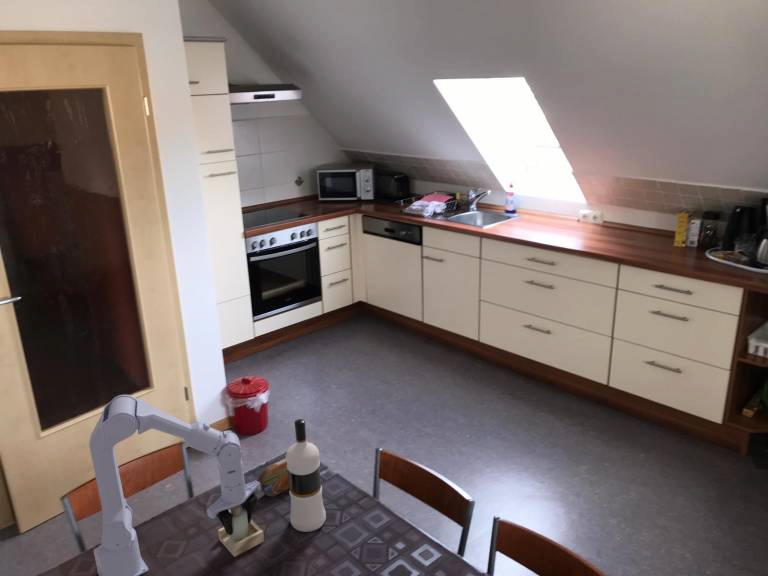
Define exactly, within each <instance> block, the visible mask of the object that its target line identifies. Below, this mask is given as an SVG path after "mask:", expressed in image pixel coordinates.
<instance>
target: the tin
mask: <svg viewBox="0 0 768 576" xmlns="http://www.w3.org/2000/svg"><path fill="white" fill-rule="evenodd" d="M258 482H259V483H260V485H261V490H260V491H261V492H262V493H263V494H264V495H265V496H268V497H275V496H277V495H279V494H281V493H283V492H285V491H288V489H289V490H290V485H289V475H288V469H287V461H286V457H285V458H283V459H281V460H279V461H277V462H274V463H273V464H270V465H268V466H266V467H265V468H264V469H263V470H262V471H261V472H260V474H259V476H258Z"/></svg>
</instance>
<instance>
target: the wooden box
mask: <svg viewBox="0 0 768 576" xmlns="http://www.w3.org/2000/svg"><path fill="white" fill-rule="evenodd" d="M248 525H249V534H248V536H247V537H245V538H244V539H241V540H232V539H231V538H230V537H229V534H228V533H226V531H225V529H224V526H223V527H220V528H219V529H218V530H217V532H218V538H219V539H218V540H219V541H220V542H221V543H222V544H223V546H224V547H225V548H226V549H227V550H228V552H230V555H232V556H233V557H234V558H235V557H237V556H239V555H241V554H243V553H246V552H247V551H248V550H250V549H253V548H254V547H256V546H258V545H260V544H262V543H263V542H265V538H264V537H265V535H264V531H263V529H262V528H260V527H259V525H257V523H256V522H254V520H253V519H251V522H250V523H248Z"/></svg>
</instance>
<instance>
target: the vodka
mask: <svg viewBox="0 0 768 576" xmlns="http://www.w3.org/2000/svg"><path fill="white" fill-rule="evenodd" d="M294 431H295V432H294V433H295V440H296V441H295V443H294V444H292V445H290V447H289V448H288V449H287V452H286V454H285V458H286V461H287V469H288V475H289V485H290V488H289V491H288V492H289V495H290V514H289V515H290V516H289V518H290V524H291V526H292V527H293V528H294V529H295V530H296V531H299V532H303V533H304V532H305V533H307V532H309V533H310V532H314V531H316V530H318V529H320V528H321V527H323V525H324V524H325V521H326V519H327V512H326V509H325V506H324V500H323V486H322V483H321V481H322V480H321V470H320V464H321V461H320V451H319V448H318V447H317V446H316V445H315V444H314V443H312V442H310V441H309V442H308V440H307V432H306V431H307V430H306V420H305V419H301V418H300V419H296V420H295V421H294Z"/></svg>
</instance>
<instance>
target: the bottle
mask: <svg viewBox="0 0 768 576" xmlns="http://www.w3.org/2000/svg"><path fill="white" fill-rule="evenodd" d="M228 510H229V512H230V513H231V514H233V518H232V527H233V534H232V535H229V537H230V538H231V539H232V540H241V539H244V538H245V537H247V536H248V534H249V525H248V518H247V510H246V509H245V508H243V507H241V504H240V505H237V506H234V507H232V508H229V509H228Z"/></svg>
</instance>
